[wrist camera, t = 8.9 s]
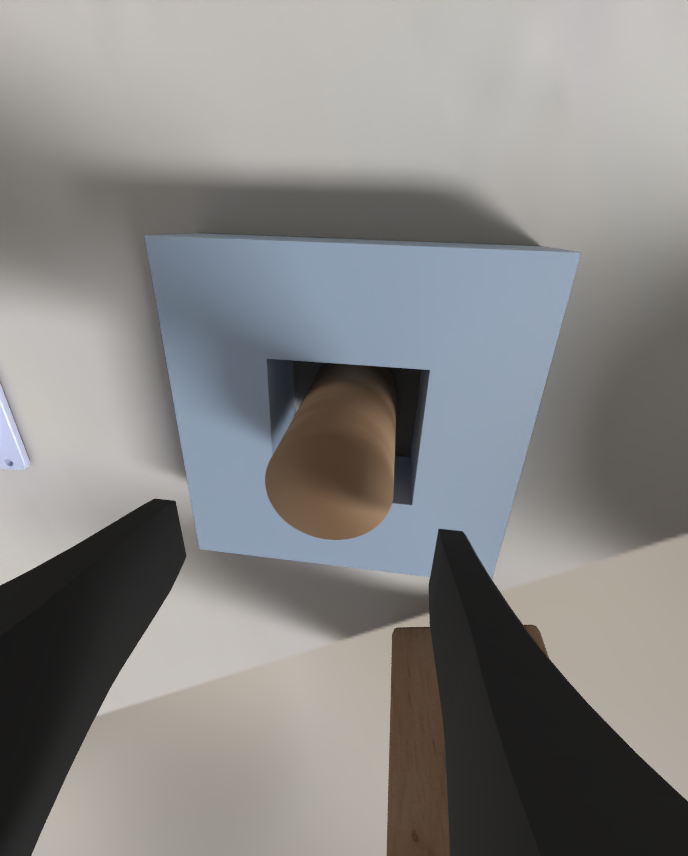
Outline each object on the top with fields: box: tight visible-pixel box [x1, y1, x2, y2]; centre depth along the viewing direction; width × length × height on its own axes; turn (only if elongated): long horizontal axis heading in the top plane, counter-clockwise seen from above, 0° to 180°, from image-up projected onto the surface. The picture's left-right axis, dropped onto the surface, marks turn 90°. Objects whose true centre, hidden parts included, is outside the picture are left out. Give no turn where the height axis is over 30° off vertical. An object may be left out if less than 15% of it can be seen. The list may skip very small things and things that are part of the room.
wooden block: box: [387, 625, 549, 856], centre depth 19 cm, size 9×4×18 cm, turn 102°
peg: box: [265, 363, 397, 540], centre depth 16 cm, size 4×4×8 cm
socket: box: [144, 233, 581, 579], centre depth 18 cm, size 14×14×4 cm
